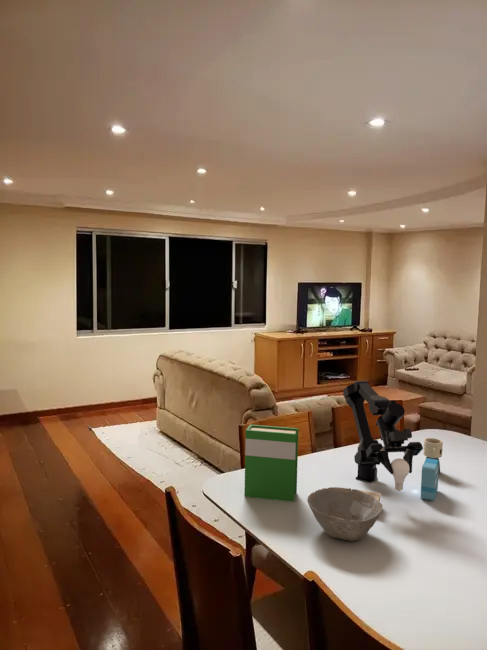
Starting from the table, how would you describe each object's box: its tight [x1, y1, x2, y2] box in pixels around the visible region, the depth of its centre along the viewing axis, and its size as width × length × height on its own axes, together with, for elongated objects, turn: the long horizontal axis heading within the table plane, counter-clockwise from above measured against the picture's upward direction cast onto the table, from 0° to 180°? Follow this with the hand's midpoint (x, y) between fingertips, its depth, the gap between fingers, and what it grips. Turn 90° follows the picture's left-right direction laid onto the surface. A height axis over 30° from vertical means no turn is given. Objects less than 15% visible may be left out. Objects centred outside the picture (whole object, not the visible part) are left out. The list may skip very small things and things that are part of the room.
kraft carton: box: [359, 489, 381, 503], centre depth 173 cm, size 7×7×5 cm
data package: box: [420, 457, 440, 502], centre depth 186 cm, size 12×4×12 cm, turn 153°
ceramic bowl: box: [306, 486, 384, 542], centre depth 156 cm, size 22×23×10 cm
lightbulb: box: [390, 457, 410, 492], centre depth 173 cm, size 6×6×11 cm
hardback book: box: [243, 424, 299, 503], centre depth 183 cm, size 18×7×24 cm, turn 77°
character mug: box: [423, 437, 444, 474], centre depth 208 cm, size 11×7×13 cm, turn 165°
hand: (401, 473), depth 172 cm, fingers closed on lightbulb, 6 cm apart
